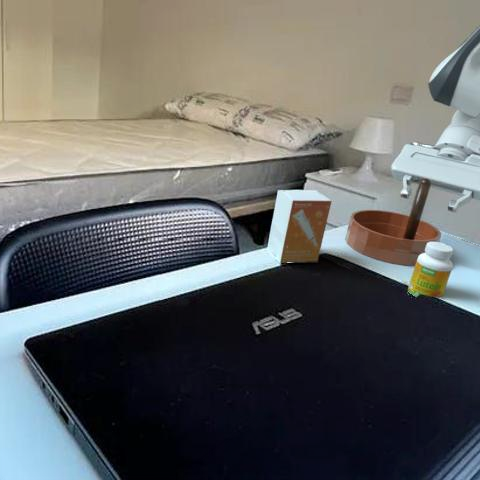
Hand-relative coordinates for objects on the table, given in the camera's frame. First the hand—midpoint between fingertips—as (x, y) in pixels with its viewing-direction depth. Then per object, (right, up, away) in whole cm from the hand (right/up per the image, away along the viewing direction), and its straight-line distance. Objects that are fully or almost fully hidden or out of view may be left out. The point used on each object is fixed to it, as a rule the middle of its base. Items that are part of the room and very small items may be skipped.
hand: (427, 203), depth 102 cm
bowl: (-6, -10, +4) cm, 12 cm away
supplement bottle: (-8, -18, -15) cm, 24 cm away
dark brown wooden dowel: (-4, -10, +1) cm, 11 cm away
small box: (-29, -11, -4) cm, 31 cm away
